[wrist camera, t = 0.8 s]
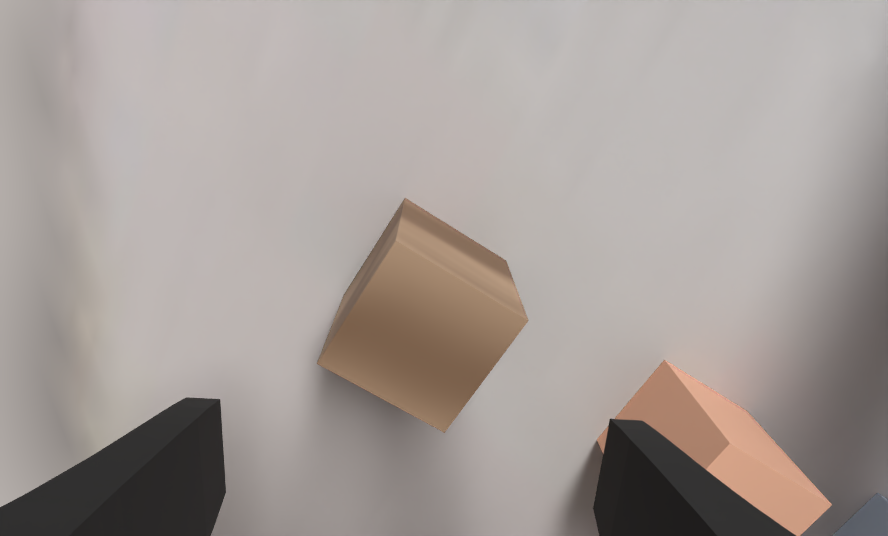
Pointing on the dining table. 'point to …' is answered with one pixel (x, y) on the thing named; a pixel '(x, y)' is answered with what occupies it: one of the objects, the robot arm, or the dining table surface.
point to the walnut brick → (424, 318)
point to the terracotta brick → (726, 446)
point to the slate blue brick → (868, 519)
